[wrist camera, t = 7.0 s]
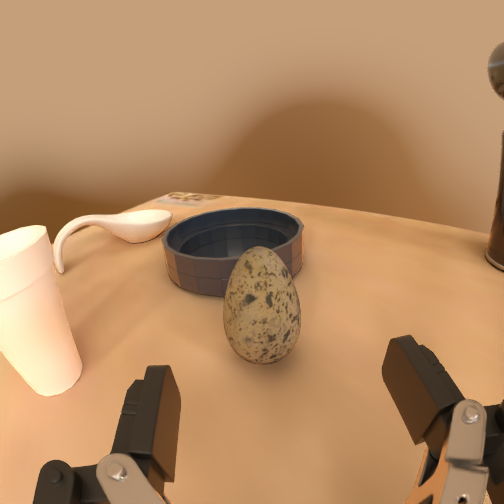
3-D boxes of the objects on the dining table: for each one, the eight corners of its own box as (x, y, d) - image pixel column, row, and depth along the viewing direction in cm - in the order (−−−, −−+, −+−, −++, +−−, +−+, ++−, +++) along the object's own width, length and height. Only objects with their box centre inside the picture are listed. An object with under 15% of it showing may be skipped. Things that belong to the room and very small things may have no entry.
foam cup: (115, 363, 24) (65, 229, 18) (47, 426, 16) (-40, 288, 11) (64, 332, 28) (23, 223, 22) (7, 377, 20) (-52, 263, 15)
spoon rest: (155, 221, 60) (149, 188, 57) (187, 231, 53) (181, 193, 50) (52, 263, 45) (41, 226, 42) (66, 284, 37) (51, 239, 34)
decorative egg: (219, 347, 26) (201, 244, 21) (276, 325, 28) (272, 226, 24) (249, 391, 21) (236, 279, 17) (313, 361, 23) (320, 252, 19)
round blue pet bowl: (289, 232, 49) (288, 203, 47) (319, 291, 33) (320, 250, 31) (179, 242, 49) (174, 214, 46) (157, 306, 32) (147, 267, 30)
